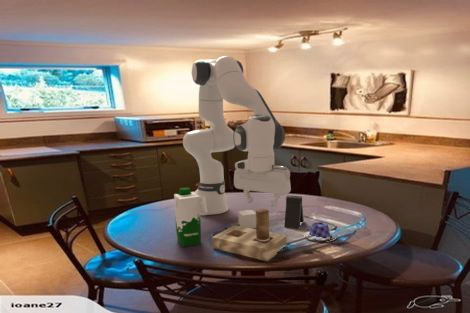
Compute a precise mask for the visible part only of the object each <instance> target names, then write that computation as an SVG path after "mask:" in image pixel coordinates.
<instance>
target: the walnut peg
mask: <svg viewBox="0 0 470 313" xmlns="http://www.w3.org/2000/svg"><path fill="white" fill-rule="evenodd" d="M255 213H256V228H255V229H256V240H257V241H258V242H262V243H268V241H269V240H270V237H269V232H270V211H269V209H266V208H265V209H264V208H261V209H259V208H258V209H256V210H255Z"/></svg>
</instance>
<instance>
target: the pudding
mask: <svg viewBox="0 0 470 313" xmlns="http://www.w3.org/2000/svg"><path fill="white" fill-rule="evenodd" d="M307 232H310V233H309V235H311V236H316V237H322V238H327V237H329V236H330V232H331V231H330V228H329V224H328V223H326V222H324V221H315V222H313V223H312V224H311V227H310V230H308V231H306V232H305V231H304V233H303V237H304V238H305V234H306V233H307ZM336 239H337V237H336V238H335V239H333V240H330V239H329V240H330V241H326V242H328V243H329V242H331V241H334V240H336ZM326 242H325V243H326Z"/></svg>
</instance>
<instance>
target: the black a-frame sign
mask: <svg viewBox="0 0 470 313" xmlns="http://www.w3.org/2000/svg"><path fill="white" fill-rule="evenodd" d="M304 219H305V217H304V209H303V196H300V195H299V196H298V195H286V198H285V216H284V228H290V229H298V228H299V227H300V228H301V226H302V225H300V222H303V221H304V222H305V220H304ZM304 222H303V223H304ZM300 228H299V229H300Z"/></svg>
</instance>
